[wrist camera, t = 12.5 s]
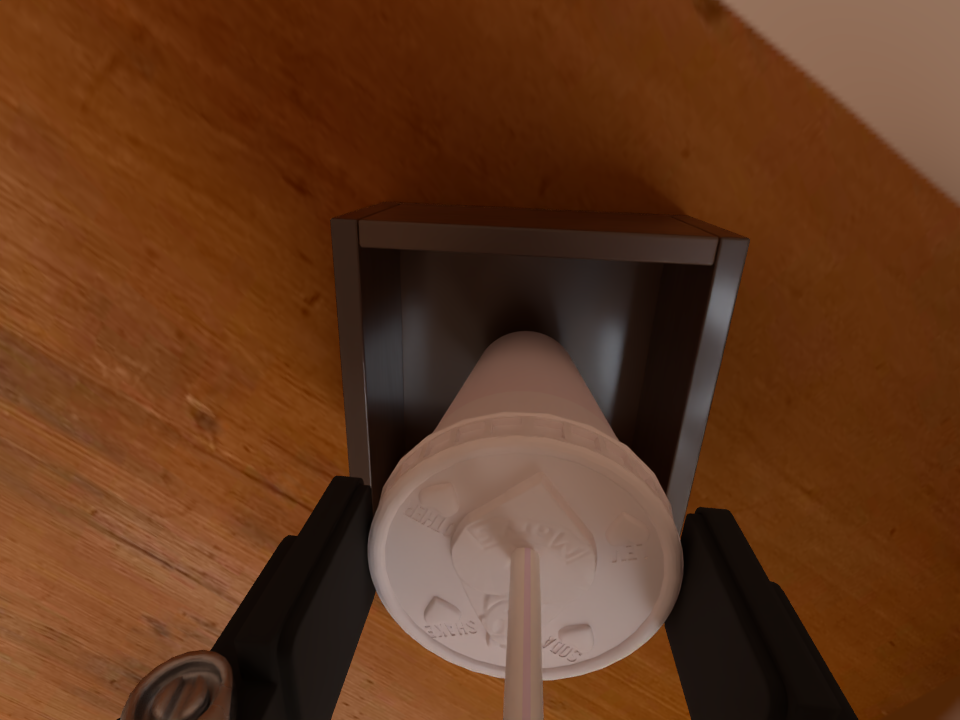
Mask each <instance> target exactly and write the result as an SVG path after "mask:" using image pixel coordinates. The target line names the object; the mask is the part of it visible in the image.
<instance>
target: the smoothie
mask: <svg viewBox="0 0 960 720" xmlns="http://www.w3.org/2000/svg"><path fill="white" fill-rule="evenodd" d="M368 563H369V570H370V574H371V578H372V581H373V584H374V586H375V589H376V591H377V593H378V595H379V597H380V599H381V601H382V603H383V605H384V606H385V608H386V609H387V611H388V612H389V614H390V615H391V616H392V617H393V619H394V620H395V621H396V622H397V623H398V624H399V625H400V627H401V628H402V629H403V630H404V631H405V632H406V633H407V634H409V635H410V636H411V637H412V638H413V639H414V640H416V641H417V642H418V643H420V644H421V645H422V646H423V647H424V648H426V649H428V650H429V651H431V652H433V653H435V654H436V655H438V656H440V657H441V658H443V659H445V660H446V661H449V662H451V663H454V664H456V665H458V666H461V667H463V668H466V669H468V670H471V671H474V672H478V673H482V674H486V675H490V676H494V677H498V678H505V689H504V710H503V720H543V680H556V679H562V678H568V677H575V676H580V675H583V674H586V673H589V672H592V671H596V670H599V669H602V668H605V667H607V666H609V665H611V664H613V663H615V662H617V661H619V660H621V659H623V658H625V657H627V656H628V655H630V654H631V653H632V652H634V651H635V650H637V649H638V648H639V647H641V646H642V645H643V644H644V643H646V642H647V641H648V640H649V639H650V638H651V637H652V636H653V635H654V634H655V633H656V632H657V631H658V630H659V628H660V627H661V626H662V625H663V623H664V622H665V621H666V619H667V618H668V616H669V614H670V613H671V611H672V609H673V607H674V605H675V603H676V601H677V598H678V595H679V592H680V589H681V584H682V579H683V566H684V561H683V550H682V546H681V541H680V537H679V534H678V531H677V529H676V526H675V523H674V521H673V514H672V508H671V504H670V502H669V500H668V498H667V496H666V495H665V493H664V491H663V489H662V487H661V485H660V483H659V481H658V479H657V477H656V475H655V474H654V472H653V471H652V470H651V469H650V468H649V467H648V466H647V465H646V464H645V463H644V462H643V461H642V460H641V459H640V458H639V457H638V456H637V455H636V454H635V453H634V452H633V451H632V450H631V449H630V448H629V447H628V446H627V445H625V444H623V443H621V442H620V441H619V440H618V438H617V437H616V435H615V434H614V432H613V430H612V429H611V427H610V425H609V423H608V422H607V420H606V418H605V416H604V415H603V413H602V411H601V409H600V408H599V406H598V404H597V403H596V401H595V399H594V397H593V396H592V394H591V392H590V390H589V389H588V387H587V385H586V383H585V382H584V380H583V378H582V377H581V375H580V373H579V371H578V370H577V368H576V366H575V364H574V363H573V361H572V359H571V358H570V356H569V354H568V353H567V351H566V350H565V349H564V347H563V346H562V345H561V344H559V343H558V342H557V341H556V340H554V339H553V338H551V337H549V336H547V335H544V334H541V333H538V332H532V331H519V332H513V333H509V334H507V335H504V336H502V337H500V338H498V339H497V340H495V341H494V342H493V343H492V344H490V345H489V346H488V348H487V349H486V350H485V351H484V353H483V354H482V356H481V357H480V359H479V361H478V362H477V364H476V365H475V367H474V369H473V370H472V372H471V373H470V375H469V376H468V378H467V380H466V381H465V383H464V384H463V386H462V388H461V389H460V391H459V392H458V394H457V396H456V397H455V399H454V400H453V402H452V403H451V405H450V407H449V408H448V410H447V411H446V413H445V415H444V416H443V418H442V419H441V421H440V422H439V424H438V426H437V427H436V429H435V430H434V432H433V433H432V434H430V435H428V436H427V437H426V438H424V439H423V440H422V441H421V442H420V443H419V444H417V445H416V446H415V447H414V448H413V449H412V450H411V451H409V452H408V453H407V454H406V455H405V456H404V457H402V458H401V459H400V461H399V462H398V464H397V465H396V467H395V469H394V470H393V472H392V474H391V475H390V477H389V478H388V480H387V482H386V483H385V485H384V486H383V488H382V493H381V497H380V501H379V505H378V508H377V510H376V513H375V516H374V518H373V521H372V524H371V528H370V532H369V538H368Z"/></svg>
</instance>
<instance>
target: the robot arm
mask: <svg viewBox="0 0 960 720" xmlns="http://www.w3.org/2000/svg"><path fill="white" fill-rule="evenodd" d="M372 521H373V503H372V489H371V486H370V485H364V481H363V479H362V478H358V477H346V476H335V477H334V478H333V479H332V481H331V483H330V484H329V486H328V487H327V489H326V491H325V492H324V494H323V496H322V497H321V499H320V500H319V502H318V504H317V505H316V507H315V509H314V510H313V512H312V514H311V515H310V517H309V518H308V520H307V522H306V523H305V525H304V527H303V528H302V530H301V531H300V533H299V535H298V536H293V535H288V536H287V537H285V538H284V539H283V540H282V542H281V543H280V544H279V546H278V547H277V549H276V550H275V552H274V553H273V555H272V557H271V558H270V560H269V561H268V563H267V564H266V566H265V567H264V569H263V570H262V572H261V573H260V575H259V577H258V578H257V580H256V581H255V583H254V584H253V586H252V587H251V589H250V590H249V592H248V594H247V595H246V597H245V598H244V600H243V601H242V603H241V604H240V606H239V607H238V609H237V611H236V612H235V614H234V615H233V617H232V618H231V620H230V621H229V623H228V624H227V626H226V628H225V629H224V631H223V632H222V634H221V635H220V637H219V638H218V640H217V641H216V643H215V644H214V646H213V648H212V649H211V651H207V650H199V651H191V652H186V653H184V654H181V655H178V656H175V657H172V658H171V659H169V660H167V661H166V662H164V663H162V664H160V665H159V666H157V667H156V668H154V669H153V670H152V671H151V672H150V673H149V674H147V675H146V676H145V677H144V678H143V679H142V680H141V681H140V682H139V683H138V685H137V686H136V687H135V688H134V690H133V691H132V692H131V693H130V695H129V698H128V700H127V702H126V704H125V706H124V708H123V711H122V714H121V717H120V718H119V719H117V720H331V717H332V714H333V712H334V709H335V706H336V703H337V700H338V698H339V695H340V692H341V689H342V686H343V683H344V681H345V678H346V675H347V672H348V669H349V667H350V664H351V661H352V658H353V655H354V652H355V650H356V647H357V644H358V641H359V638H360V635H361V633H362V630H363V627H364V624H365V621H366V619H367V616H368V613H369V610H370V607H371V604H372V602H373V599H374V595H375V591H376V589H375V586H374V584H373V581H372V578H371V574H370V570H369V563H368V538H369V532H370V528H371V524H372ZM680 541H681V546H682V550H683V561H684V566H683V579H682V584H681V589H680V592H679V595H678V598H677V601H676V603H675V605H674V607H673V609H672V611H671V613H670V614H669V616H668V618H667V619H666V621H665V622H664V623H665V629H666V632H667V636H668V639H669V643H670V646H671V650H672V653H673V657H674V660H675V664H676V667H677V671H678V674H679V678H680V681H681V685H682V688H683V692H684V695H685V699H686V702H687V706H688V709H689V713H690V716H691V720H858V718H857V716H856V715H855V713H854V711H853V709H852V708H851V706H850V704H849V703H848V701H847V699H846V697H845V696H844V694H843V692H842V691H841V689H840V687H839V685H838V684H837V682H836V680H835V679H834V677H833V675H832V673H831V672H830V670H829V668H828V667H827V665H826V663H825V661H824V660H823V658H822V656H821V655H820V653H819V651H818V649H817V648H816V646H815V644H814V643H813V641H812V639H811V637H810V636H809V634H808V632H807V631H806V629H805V627H804V625H803V624H802V622H801V620H800V619H799V617H798V615H797V613H796V612H795V610H794V608H793V607H792V605H791V603H790V601H789V600H788V598H787V596H786V595H785V593H784V591H783V590H782V589H781V587H780V586H779V585H778V584H776V583H775V582H771V581H769V579H768V577H767V575H766V573H765V572H764V570H763V568H762V566H761V565H760V563H759V561H758V559H757V558H756V556H755V554H754V552H753V550H752V549H751V547H750V545H749V543H748V542H747V540H746V538H745V536H744V534H743V533H742V531H741V529H740V527H739V526H738V524H737V522H736V520H735V519H734V517H733V515H732V513H731V512H730V511H729V510H727V509H716V508H704V507H699V508H697V510H696V511H695V514H688V515H687V516H686V519H685V523H684V528H683V532H682V536H681V540H680Z"/></svg>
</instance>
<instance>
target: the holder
mask: <svg viewBox="0 0 960 720" xmlns="http://www.w3.org/2000/svg"><path fill="white" fill-rule="evenodd" d="M330 222H331V235H332V249H333V262H334V275H335V288H336V302H337V315H338V328H339V341H340V354H341V368H342V381H343V394H344V407H345V420H346V434H347V447H348V460H349V473H350V477H358V478H362V479H363V481H364V485H370V486H371V489H372V503H373V518H374V516H375V513H376V510H377V508H378V505H379V501H380V497H381V493H382V488H383V486H384V485H385V483H386V482H387V480H388V478H389V477H390V475H391V474H392V472H393V470H394V469H395V467H396V465H397V464H398V462H399V461H400V459H401V458H402V457H404V456H405V455H406V454H407V453H408V452H409V451H411V450H412V449H413V448H414V447H415V446H416V445H417V444H419V443H420V442H421V441H422V440H423V439H424V438H426V437H427V436H428V435H430V434H432V433H433V432H434V430H435V429H436V427H437V426H438V424H439V422H440V421H441V419H442V418H443V416H444V415H445V413H446V411H447V410H448V408H449V407H450V405H451V403H452V402H453V400H454V399H455V397H456V396H457V394H458V392H459V391H460V389H461V388H462V386H463V384H464V383H465V381H466V380H467V378H468V376H469V375H470V373H471V372H472V370H473V369H474V367H475V365H476V364H477V362H478V361H479V359H480V357H481V356H482V354H483V353H484V351H485V350H486V349H487V348H488V346H489V345H490V344H492V343H493V342H494V341H495V340H497V339H498V338H500V337H502V336H504V335H507V334H509V333H513V332H519V331H532V332H538V333H541V334H544V335H547V336H549V337H551V338H553V339H554V340H556V341H557V342H558V343H559V344H561V345H562V346H563V347H564V349H565V350H566V351H567V353H568V354H569V356H570V358H571V359H572V361H573V363H574V364H575V366H576V368H577V370H578V371H579V373H580V375H581V377H582V378H583V380H584V382H585V383H586V385H587V387H588V389H589V390H590V392H591V394H592V396H593V397H594V399H595V401H596V403H597V404H598V406H599V408H600V409H601V411H602V413H603V415H604V416H605V418H606V420H607V422H608V423H609V425H610V427H611V429H612V430H613V432H614V434H615V435H616V437H617V438H618V440H619V441H620V442H621V443H623V444H625V445H627V446H628V447H629V448H630V449H631V450H632V451H633V452H634V453H635V454H636V455H637V456H638V457H639V458H640V459H641V460H642V461H643V462H644V463H645V464H646V465H647V466H648V467H649V468H650V469H651V470H652V471H653V472H654V474H655V475H656V477H657V479H658V481H659V483H660V485H661V487H662V489H663V491H664V493H665V495H666V496H667V498H668V500H669V502H670V504H671V508H672V514H673V521H674V523H675V526H676V529H677V531H678V534H679V537H680V535H681V530H682V526H683V522H684V518H685V513H686V509H687V505H688V501H689V496H690V492H691V488H692V484H693V480H694V475H695V471H696V467H697V463H698V458H699V454H700V450H701V446H702V441H703V437H704V433H705V429H706V425H707V420H708V416H709V412H710V408H711V403H712V399H713V395H714V391H715V386H716V382H717V378H718V374H719V370H720V365H721V361H722V357H723V353H724V348H725V344H726V340H727V336H728V331H729V327H730V323H731V319H732V314H733V310H734V306H735V302H736V298H737V293H738V289H739V285H740V281H741V276H742V272H743V268H744V264H745V259H746V255H747V251H748V247H749V243H750V239H749V238H747V237H744V236H741V235H738V234H736V233H733V232H730V231H728V230H725V229H722V228H720V227H717V226H714V225H712V224H709V223H706V222H703V221H701V220H698V219H695V218H693V217H690V216H682V215H660V214H638V213H616V212H594V211H572V210H550V209H528V208H506V207H484V206H462V205H440V204H418V203H396V202H382V203H379V204H376V205H372V206H369V207H366V208H363V209H360V210H356V211H353V212H350V213H347V214H344V215H340V216H337V217H334V218H331V220H330Z"/></svg>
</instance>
